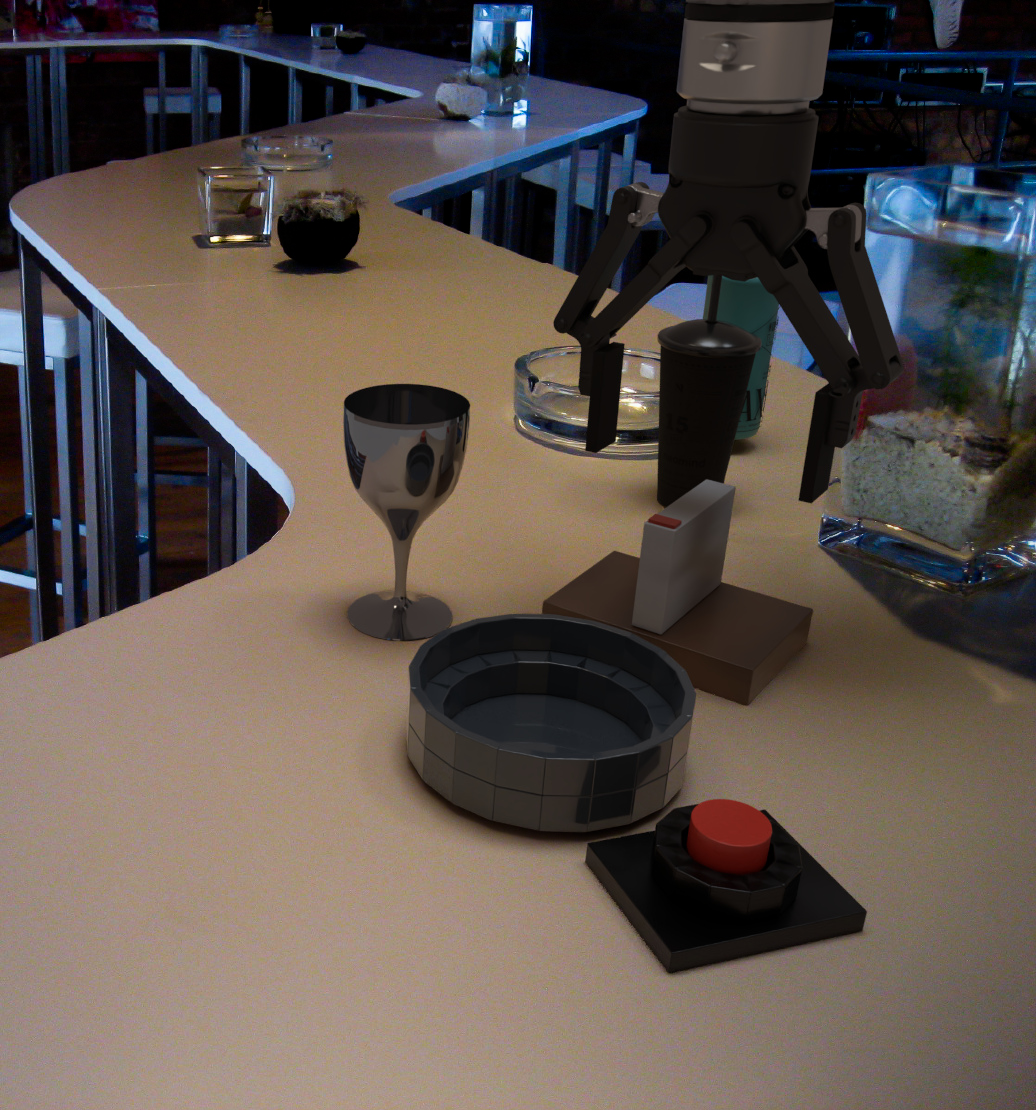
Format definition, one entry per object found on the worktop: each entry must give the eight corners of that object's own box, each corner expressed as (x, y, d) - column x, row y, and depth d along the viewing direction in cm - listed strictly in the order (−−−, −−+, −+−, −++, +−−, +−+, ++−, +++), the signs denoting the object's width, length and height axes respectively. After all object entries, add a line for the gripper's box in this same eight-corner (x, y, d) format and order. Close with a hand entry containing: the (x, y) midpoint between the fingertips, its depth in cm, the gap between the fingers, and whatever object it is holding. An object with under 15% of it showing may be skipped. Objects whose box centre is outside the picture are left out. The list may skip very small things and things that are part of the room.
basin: (601, 670, 81) (609, 599, 79) (739, 813, 68) (753, 732, 66) (370, 706, 77) (371, 632, 75) (468, 864, 64) (473, 780, 62)
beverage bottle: (687, 454, 115) (718, 225, 106) (679, 429, 121) (708, 210, 112) (764, 458, 114) (801, 227, 105) (752, 432, 120) (787, 212, 111)
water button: (738, 822, 63) (743, 793, 62) (782, 869, 60) (788, 838, 59) (671, 835, 62) (676, 805, 61) (713, 883, 59) (718, 852, 58)
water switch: (761, 828, 67) (770, 779, 65) (863, 931, 60) (875, 879, 58) (584, 862, 64) (590, 812, 63) (668, 974, 57) (677, 921, 56)
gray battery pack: (692, 575, 87) (706, 475, 84) (721, 584, 86) (736, 482, 83) (631, 625, 81) (644, 519, 78) (661, 635, 80) (675, 527, 77)
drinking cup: (659, 476, 110) (689, 238, 101) (749, 496, 106) (788, 251, 97) (623, 505, 104) (651, 256, 96) (717, 528, 100) (755, 270, 92)
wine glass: (394, 577, 93) (400, 375, 86) (482, 614, 88) (496, 403, 81) (316, 614, 88) (316, 403, 81) (405, 656, 83) (413, 434, 76)
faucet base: (807, 642, 84) (814, 608, 83) (747, 706, 77) (753, 670, 76) (610, 581, 92) (614, 549, 91) (539, 634, 85) (542, 600, 84)
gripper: (510, 98, 75) (493, 444, 84) (975, 126, 60) (894, 540, 70) (573, 87, 80) (551, 413, 89) (1015, 110, 66) (935, 497, 75)
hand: (701, 470), depth 79 cm, fingers open, 13 cm apart
